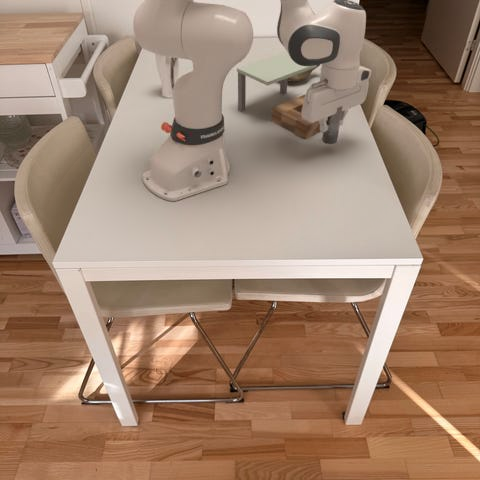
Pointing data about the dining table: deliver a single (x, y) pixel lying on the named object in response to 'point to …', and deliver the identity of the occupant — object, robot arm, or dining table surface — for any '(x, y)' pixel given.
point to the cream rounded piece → (167, 73)
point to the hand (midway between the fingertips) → (331, 127)
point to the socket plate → (294, 118)
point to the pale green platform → (268, 74)
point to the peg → (332, 128)
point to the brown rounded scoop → (302, 75)
